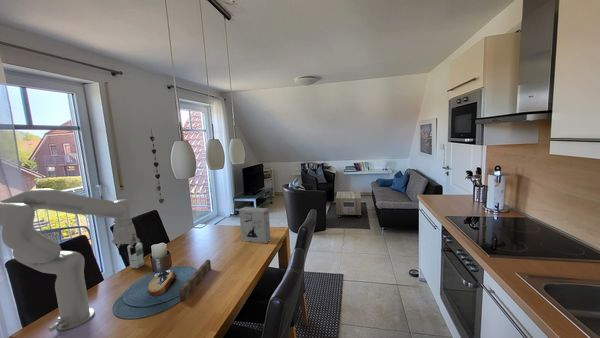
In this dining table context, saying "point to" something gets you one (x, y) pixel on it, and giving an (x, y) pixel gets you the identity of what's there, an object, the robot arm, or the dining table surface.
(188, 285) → the walnut board
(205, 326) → the dining table surface
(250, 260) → the dining table surface
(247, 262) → the dining table surface
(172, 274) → the bread slice
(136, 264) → the syrup box
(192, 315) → the dining table surface
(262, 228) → the cereal box
